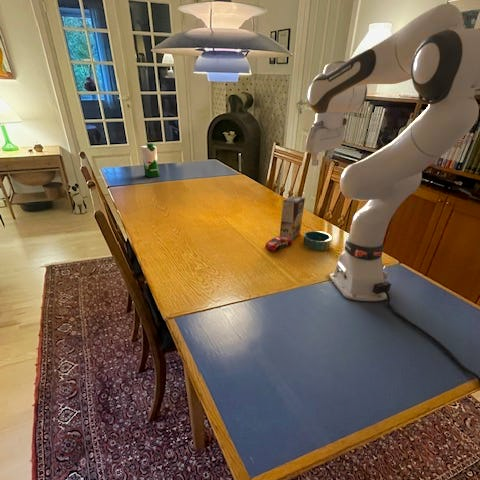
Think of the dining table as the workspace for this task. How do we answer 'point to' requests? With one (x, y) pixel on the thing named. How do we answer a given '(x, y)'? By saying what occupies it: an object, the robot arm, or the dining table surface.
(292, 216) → the coffee box
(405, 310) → the dining table surface
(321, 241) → the teal bowl
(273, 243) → the race car
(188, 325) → the dining table surface
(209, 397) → the dining table surface
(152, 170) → the milk carton
